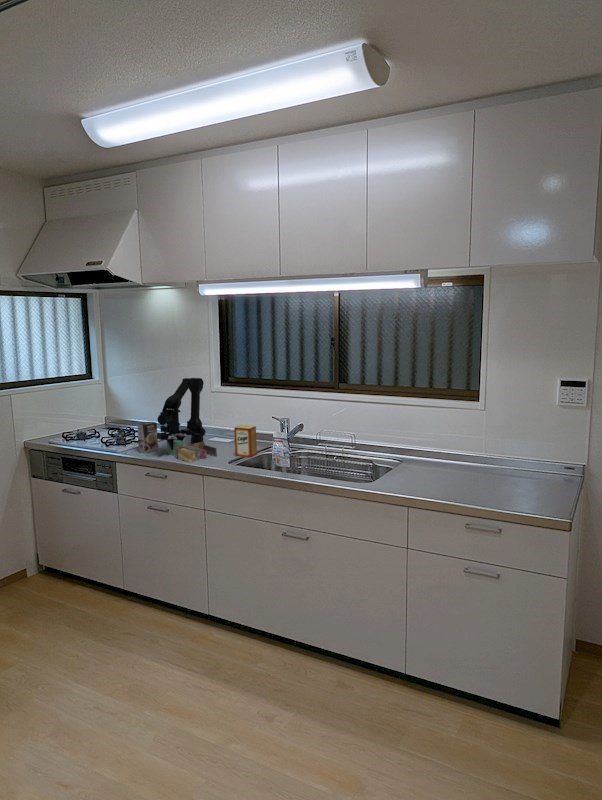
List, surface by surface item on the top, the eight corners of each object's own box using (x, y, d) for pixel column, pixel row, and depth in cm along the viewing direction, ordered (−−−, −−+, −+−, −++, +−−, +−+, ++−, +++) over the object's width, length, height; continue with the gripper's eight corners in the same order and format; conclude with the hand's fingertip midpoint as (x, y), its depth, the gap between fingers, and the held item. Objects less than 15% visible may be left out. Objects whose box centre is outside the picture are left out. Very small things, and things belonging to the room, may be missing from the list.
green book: (173, 452, 312) (172, 438, 311) (183, 455, 304) (182, 441, 303) (167, 453, 310) (166, 439, 309) (178, 456, 302) (177, 442, 301)
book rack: (203, 452, 310) (203, 441, 309) (216, 456, 301) (216, 445, 300) (176, 458, 299) (176, 447, 298) (189, 462, 290) (188, 451, 289)
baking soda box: (256, 454, 303) (255, 425, 300) (251, 457, 297) (249, 428, 294) (241, 453, 306) (240, 424, 304) (235, 456, 300) (234, 426, 298)
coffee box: (145, 453, 311) (143, 425, 309) (138, 451, 315) (136, 423, 313) (159, 449, 318) (157, 422, 316) (151, 448, 322) (149, 421, 320)
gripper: (180, 417, 316) (182, 444, 319) (150, 422, 304) (152, 450, 306) (191, 419, 308) (192, 447, 311) (161, 425, 296) (162, 453, 298)
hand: (175, 449), depth 307 cm, fingers closed on green book, 3 cm apart
